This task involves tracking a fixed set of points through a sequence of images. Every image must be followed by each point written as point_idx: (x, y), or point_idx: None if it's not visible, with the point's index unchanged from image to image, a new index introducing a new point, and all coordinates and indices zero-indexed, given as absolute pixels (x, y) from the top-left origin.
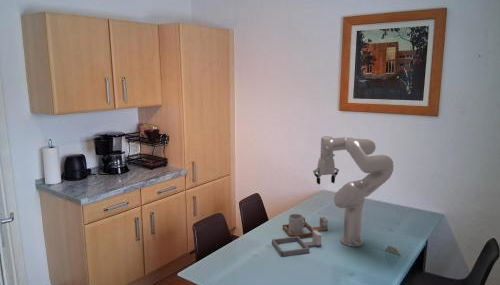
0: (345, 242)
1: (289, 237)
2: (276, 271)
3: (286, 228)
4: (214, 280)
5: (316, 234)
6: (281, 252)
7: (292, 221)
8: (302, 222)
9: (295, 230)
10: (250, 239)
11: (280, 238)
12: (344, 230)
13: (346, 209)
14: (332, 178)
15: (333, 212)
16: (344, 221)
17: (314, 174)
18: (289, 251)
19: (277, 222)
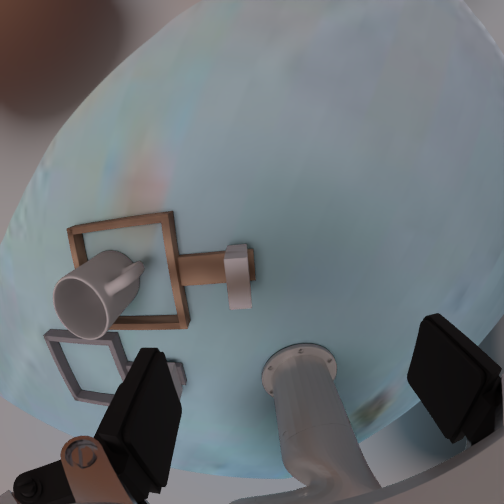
0: (270, 389)
1: (85, 340)
2: (80, 425)
3: (76, 267)
4: (10, 402)
5: None
6: (75, 399)
7: (72, 322)
8: (116, 318)
9: (101, 311)
10: (6, 287)
11: (62, 338)
12: (275, 406)
13: (294, 470)
14: (448, 397)
15: (366, 81)
16: (279, 430)
17: (27, 497)
18: (91, 402)
19: (69, 156)
